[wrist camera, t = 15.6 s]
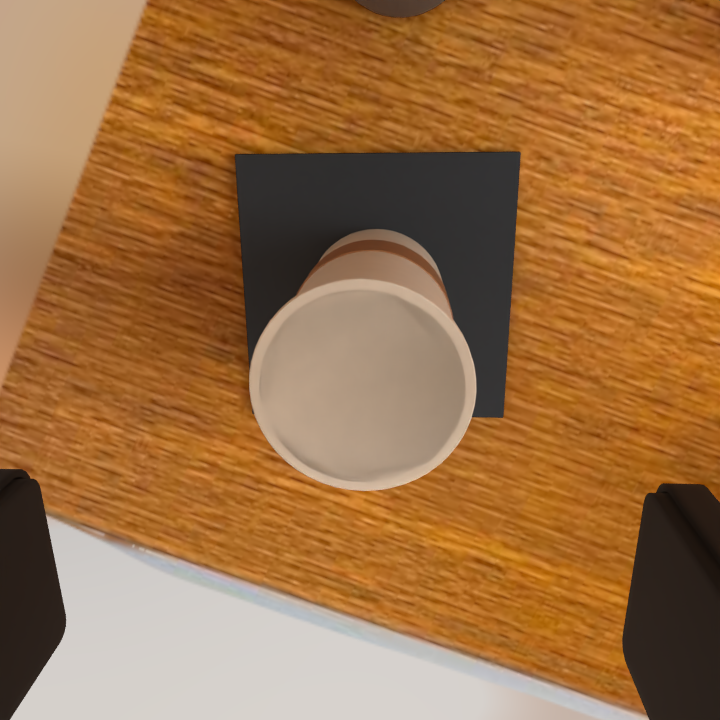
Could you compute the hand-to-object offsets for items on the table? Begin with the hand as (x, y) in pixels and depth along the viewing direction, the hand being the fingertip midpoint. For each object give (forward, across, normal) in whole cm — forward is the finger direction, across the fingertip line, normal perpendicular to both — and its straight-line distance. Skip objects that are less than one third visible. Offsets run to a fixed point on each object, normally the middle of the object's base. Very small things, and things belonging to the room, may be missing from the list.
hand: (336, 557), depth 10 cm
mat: (+21, 0, +1) cm, 21 cm away
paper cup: (+20, 0, +1) cm, 20 cm away
